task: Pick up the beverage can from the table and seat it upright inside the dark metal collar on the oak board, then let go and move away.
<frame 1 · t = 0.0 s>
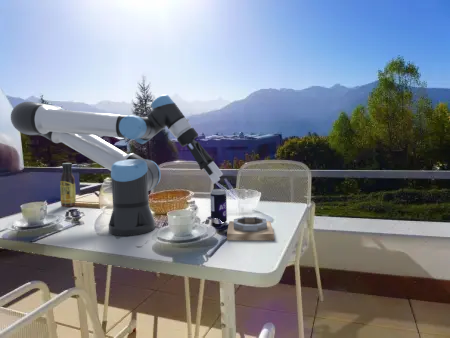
hand: (219, 178, 120), 15 cm above the table, tool tilted 35°, fingers open, 13 cm apart
collar: (250, 224, 104), on the oak board, point 2 cm above the table
beverage can: (218, 223, 117), on the table
oak board: (250, 233, 104), on the table
sauce bottle: (68, 206, 150), on the table
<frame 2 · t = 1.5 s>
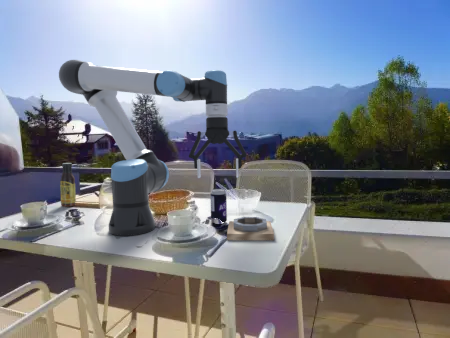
hand: (218, 177, 115), 16 cm above the table, tool pointing down, fingers open, 13 cm apart
nothing on the table moved.
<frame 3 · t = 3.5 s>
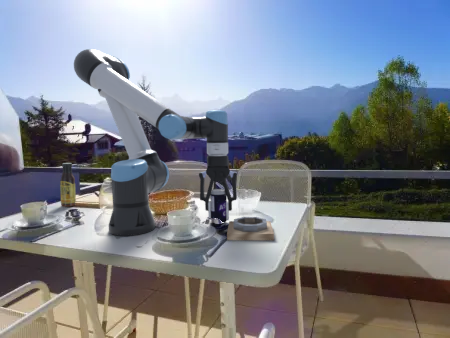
hand: (218, 219, 116), 1 cm above the table, tool pointing down, fingers closed on beverage can, 6 cm apart
beverage can: (219, 223, 117), on the table, touching gripper
everything else where it was.
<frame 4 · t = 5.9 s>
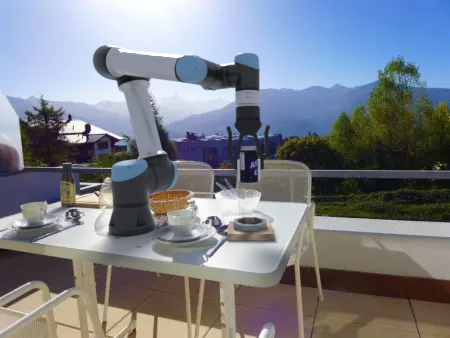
hand: (249, 180, 103), 17 cm above the table, tool pointing down, fingers closed on beverage can, 6 cm apart
beverage can: (249, 184, 103), point 16 cm above the table, touching gripper
everything else where it was.
when the fingers open (5 cm above the table, at t = 8.5 s): beverage can drops 1 cm, resting on oak board.
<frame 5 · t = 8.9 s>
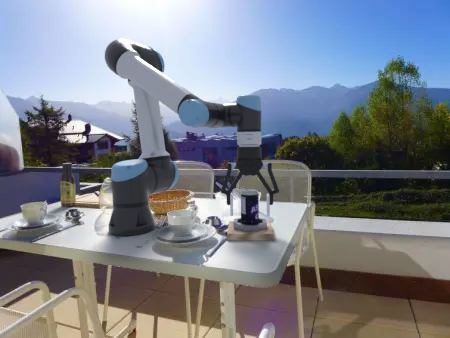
hand: (249, 214, 103), 6 cm above the table, tool pointing down, fingers open, 11 cm apart
beverage can: (249, 227, 104), point 2 cm above the table, touching oak board
everything else where it was.
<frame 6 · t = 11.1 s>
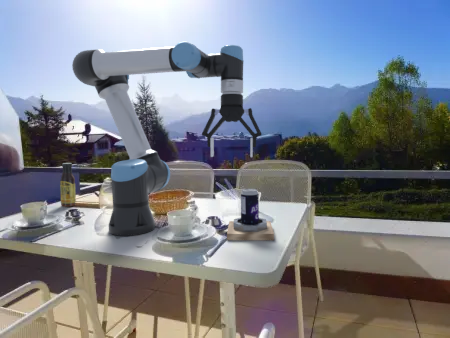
hand: (231, 156, 112), 24 cm above the table, tool pointing down, fingers open, 13 cm apart
nothing on the table moved.
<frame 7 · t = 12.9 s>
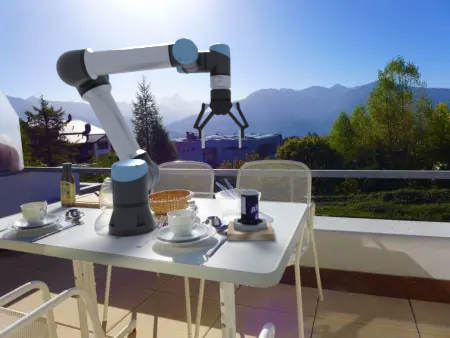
hand: (221, 147, 120), 27 cm above the table, tool pointing down, fingers open, 13 cm apart
nothing on the table moved.
at the end: beverage can 0.1 cm from the target spot, point 1.8 cm above the table; beverage can tilted 0°; the gripper is holding nothing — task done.
